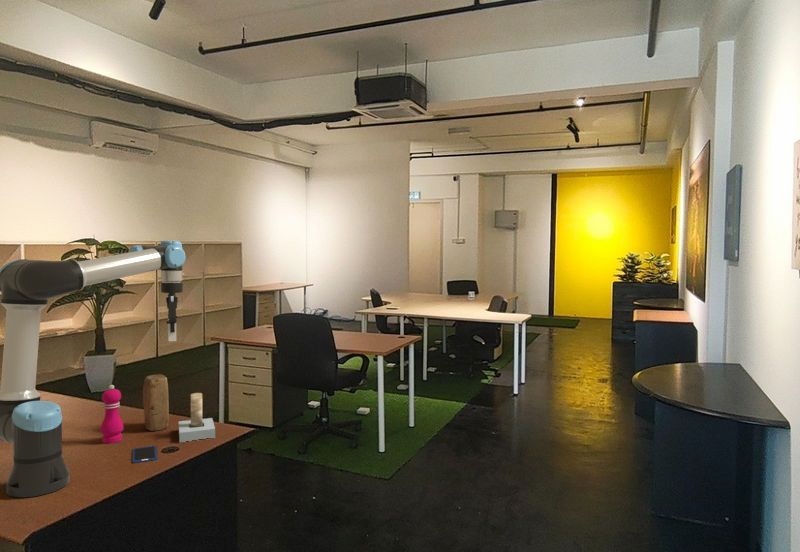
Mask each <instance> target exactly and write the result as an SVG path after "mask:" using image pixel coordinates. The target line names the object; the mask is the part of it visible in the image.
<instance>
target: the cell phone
mask: <svg viewBox="0 0 800 552" xmlns="http://www.w3.org/2000/svg"><path fill="white" fill-rule="evenodd" d="M131 455H132V461H131V462H132V464H139V463H146V462H147V461H148V462H153V461H154V460H155V461H157V460H158V451H157V446H156V445H150V446H142V447H136V448H135V447H134V448H132V454H131ZM155 461H154V462H155ZM148 462H147V463H148Z"/></svg>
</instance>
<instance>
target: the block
mask: <svg viewBox="0 0 800 552" xmlns="http://www.w3.org/2000/svg"><path fill="white" fill-rule="evenodd" d="M142 387H143V388H142V401H143V402H142V405H143V414H144V415H143V416H144V425H145V428H146V429H147V430H148V431H153V432H157V431H162V430H164V429H166V428H168V426H169V419H170V418H169V417H170V415H169V414H170V413H169V412H170V409H169V408H170V406H169V403H170V402H169V401H170V400H169V383H168V377H167V376H166V375H164V374H161V373H158V374H151V375H147V376H146V377H145V379H144V380H143V385H142Z"/></svg>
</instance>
